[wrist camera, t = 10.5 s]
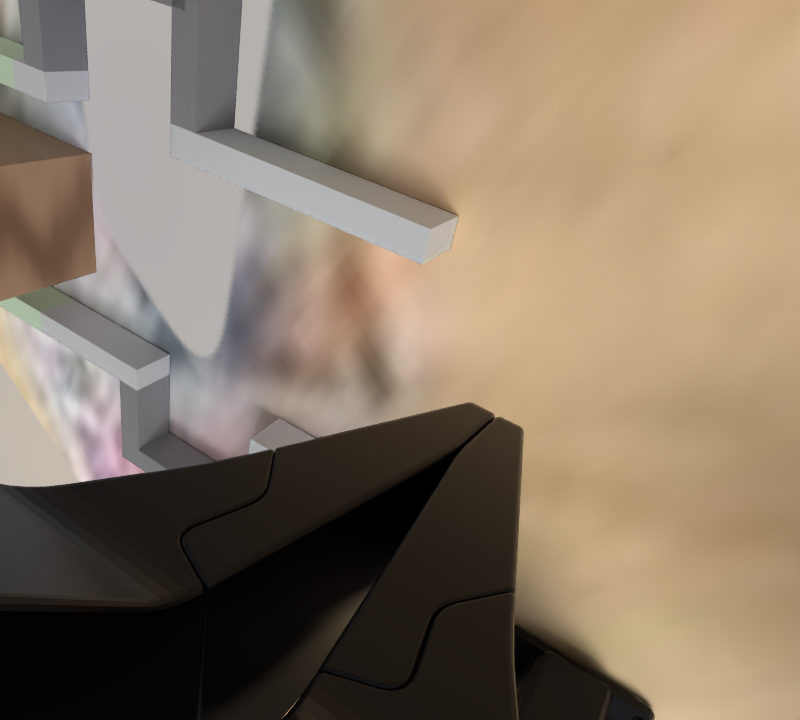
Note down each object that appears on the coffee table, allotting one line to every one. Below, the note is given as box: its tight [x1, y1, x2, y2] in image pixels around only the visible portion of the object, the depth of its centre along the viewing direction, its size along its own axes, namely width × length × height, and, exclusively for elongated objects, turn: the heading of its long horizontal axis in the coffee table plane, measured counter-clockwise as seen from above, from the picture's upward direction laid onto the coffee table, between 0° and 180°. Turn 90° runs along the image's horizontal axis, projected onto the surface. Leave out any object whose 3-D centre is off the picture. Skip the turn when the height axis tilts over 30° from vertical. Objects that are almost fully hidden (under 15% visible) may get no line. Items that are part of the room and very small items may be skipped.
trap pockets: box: [18, 0, 242, 473], centre depth 28 cm, size 23×14×2 cm, turn 166°
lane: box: [12, 59, 459, 454], centre depth 27 cm, size 13×20×2 cm, turn 76°
